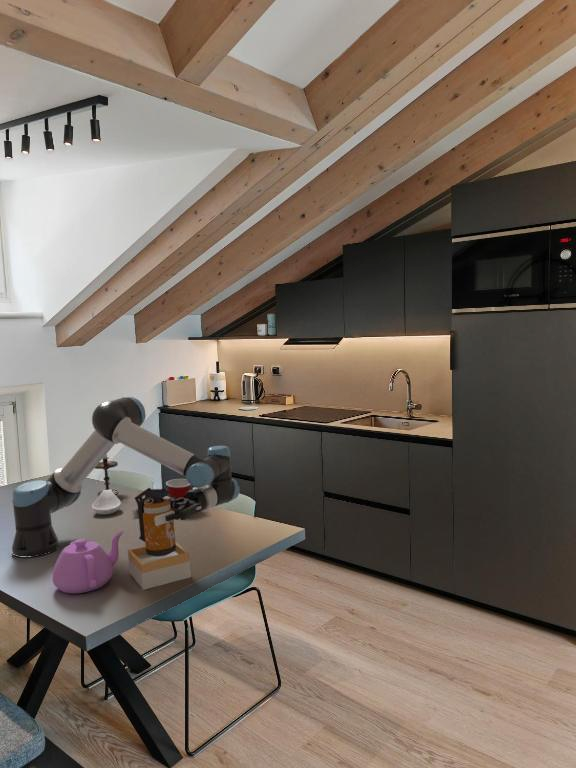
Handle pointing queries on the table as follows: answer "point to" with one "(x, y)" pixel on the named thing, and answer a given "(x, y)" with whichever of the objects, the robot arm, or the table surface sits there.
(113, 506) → the spoon rest
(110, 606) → the table surface
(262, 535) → the table surface
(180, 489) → the plastic cup
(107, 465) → the candlestick
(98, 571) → the teapot
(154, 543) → the canister
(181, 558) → the orange-rimmed open box
